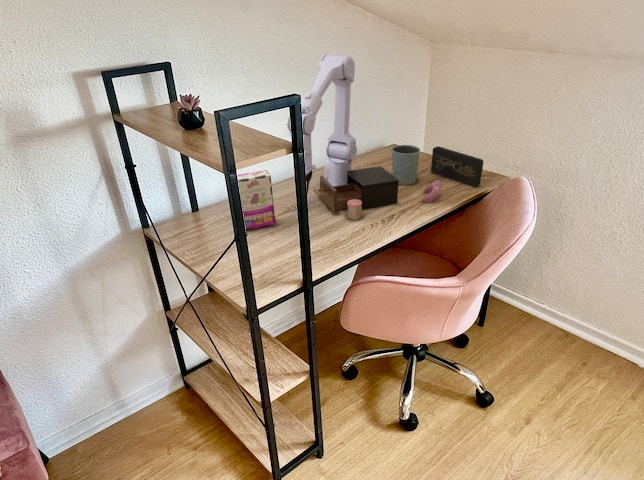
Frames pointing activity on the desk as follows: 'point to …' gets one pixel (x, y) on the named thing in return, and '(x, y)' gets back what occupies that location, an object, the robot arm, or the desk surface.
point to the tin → (354, 209)
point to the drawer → (337, 194)
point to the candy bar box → (257, 199)
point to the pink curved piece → (432, 191)
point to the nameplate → (457, 166)
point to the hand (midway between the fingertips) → (304, 193)
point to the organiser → (375, 186)
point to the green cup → (405, 163)
